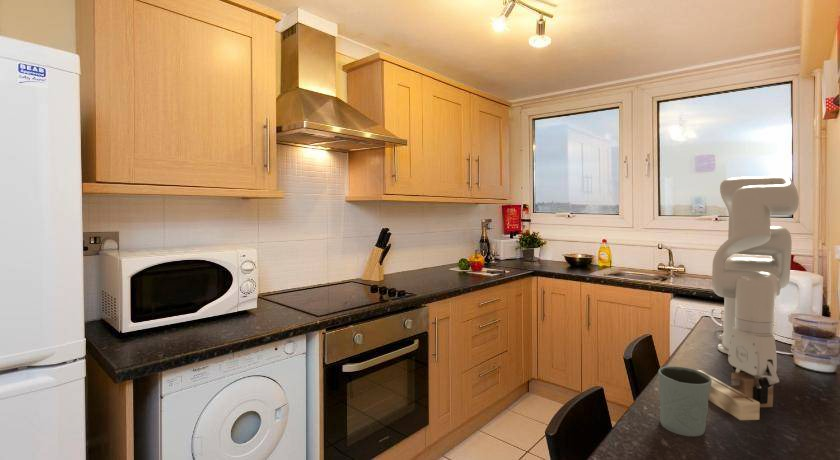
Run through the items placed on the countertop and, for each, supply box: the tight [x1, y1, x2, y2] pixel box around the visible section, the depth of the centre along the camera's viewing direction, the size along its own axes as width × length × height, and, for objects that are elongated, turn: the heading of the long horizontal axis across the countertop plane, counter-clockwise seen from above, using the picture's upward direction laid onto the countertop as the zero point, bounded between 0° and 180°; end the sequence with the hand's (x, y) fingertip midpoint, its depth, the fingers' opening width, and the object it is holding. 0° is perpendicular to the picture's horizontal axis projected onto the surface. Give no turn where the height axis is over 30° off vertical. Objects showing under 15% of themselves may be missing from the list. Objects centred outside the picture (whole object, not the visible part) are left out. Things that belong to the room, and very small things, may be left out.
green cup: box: [658, 365, 712, 437], centre depth 97 cm, size 10×10×12 cm
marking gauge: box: [730, 371, 774, 408], centre depth 108 cm, size 4×10×7 cm, turn 92°
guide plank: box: [696, 369, 761, 421], centre depth 110 cm, size 20×4×4 cm, turn 2°
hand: (751, 397), depth 109 cm, fingers closed on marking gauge, 4 cm apart
